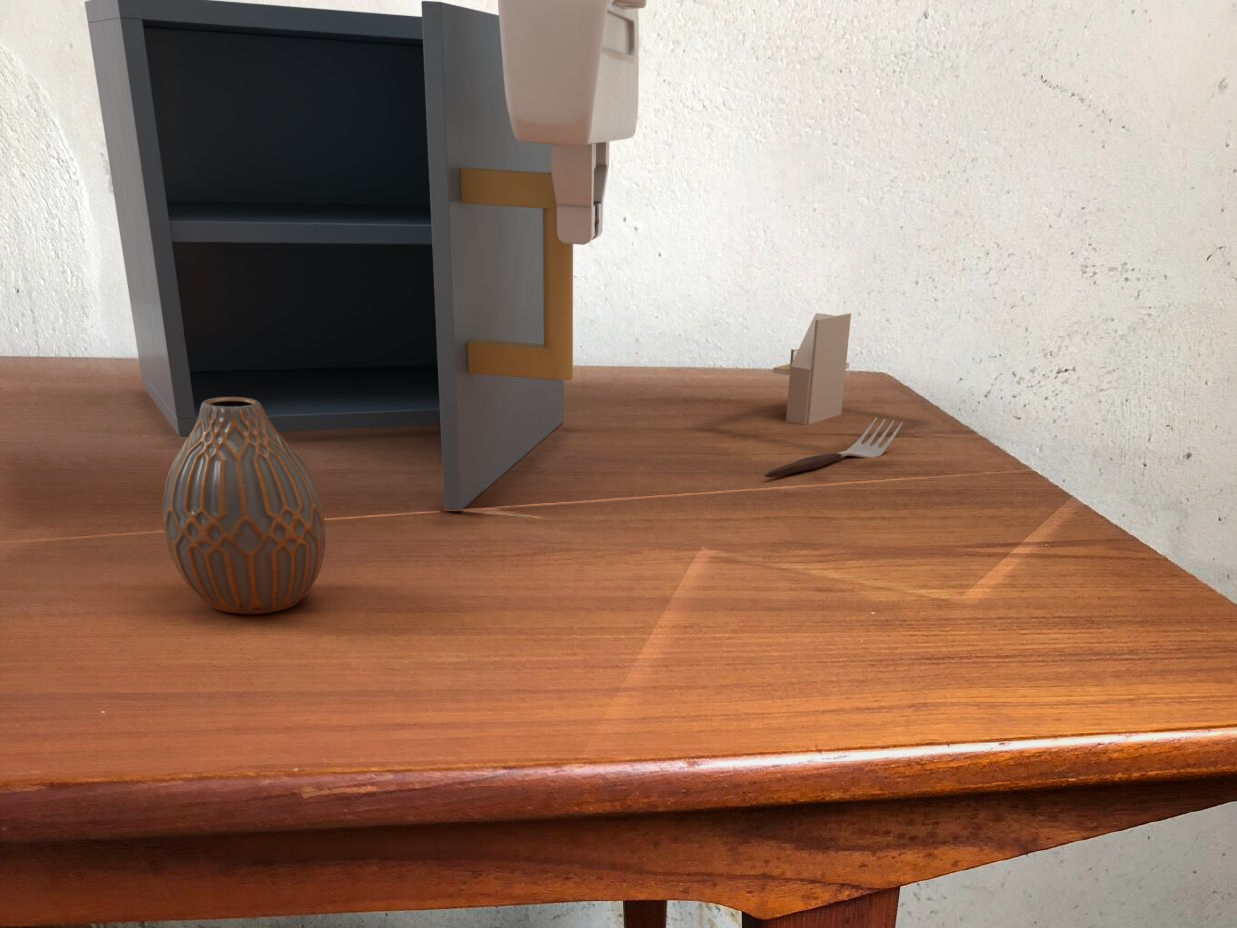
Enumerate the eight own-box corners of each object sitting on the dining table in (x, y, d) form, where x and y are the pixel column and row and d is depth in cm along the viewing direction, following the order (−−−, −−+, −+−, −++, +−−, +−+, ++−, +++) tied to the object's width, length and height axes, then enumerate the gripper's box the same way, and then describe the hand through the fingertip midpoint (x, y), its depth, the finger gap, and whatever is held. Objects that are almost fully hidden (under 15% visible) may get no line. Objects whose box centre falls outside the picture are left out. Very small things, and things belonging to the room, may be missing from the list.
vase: (295, 632, 60) (273, 423, 55) (147, 616, 61) (113, 409, 56) (353, 586, 66) (338, 394, 61) (218, 572, 67) (192, 381, 62)
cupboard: (553, 421, 101) (551, 26, 88) (179, 438, 90) (116, -8, 78) (476, 377, 115) (464, 30, 102) (143, 387, 104) (84, 1, 91)
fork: (747, 480, 88) (750, 448, 87) (870, 444, 99) (874, 416, 98) (781, 487, 87) (784, 455, 86) (902, 451, 98) (905, 422, 97)
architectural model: (768, 419, 106) (776, 314, 102) (810, 407, 111) (818, 307, 107) (807, 426, 104) (816, 320, 100) (847, 413, 109) (858, 312, 105)
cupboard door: (641, 428, 100) (652, 34, 87) (560, 520, 77) (559, 7, 65) (550, 420, 100) (548, 29, 88) (444, 509, 78) (420, 0, 65)
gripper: (554, -62, 74) (554, 223, 82) (471, -114, 57) (480, 254, 64) (669, -55, 74) (659, 230, 81) (622, -106, 57) (614, 263, 64)
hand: (580, 241), depth 73 cm, fingers closed on cupboard door
